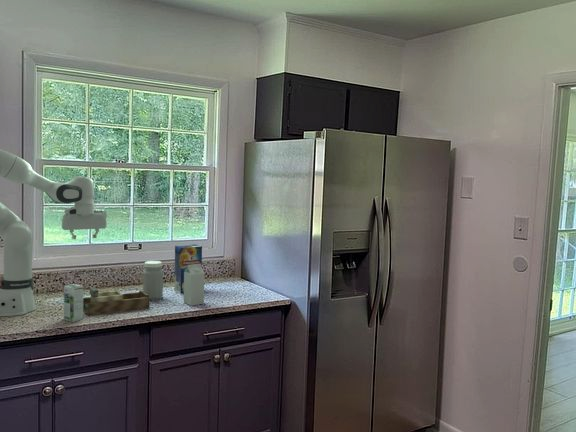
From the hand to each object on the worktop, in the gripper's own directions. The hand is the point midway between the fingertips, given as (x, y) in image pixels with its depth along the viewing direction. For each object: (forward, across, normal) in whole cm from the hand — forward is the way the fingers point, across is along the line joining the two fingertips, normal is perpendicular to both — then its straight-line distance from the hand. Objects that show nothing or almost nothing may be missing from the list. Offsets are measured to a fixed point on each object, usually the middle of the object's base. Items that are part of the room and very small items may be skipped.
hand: (84, 238), depth 253 cm
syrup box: (+29, +12, +35) cm, 47 cm away
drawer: (+28, -4, +26) cm, 38 cm away
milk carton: (+29, -43, +33) cm, 62 cm away
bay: (+29, -8, +26) cm, 40 cm away
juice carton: (+29, -50, +9) cm, 59 cm away
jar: (+29, -29, +15) cm, 44 cm away
